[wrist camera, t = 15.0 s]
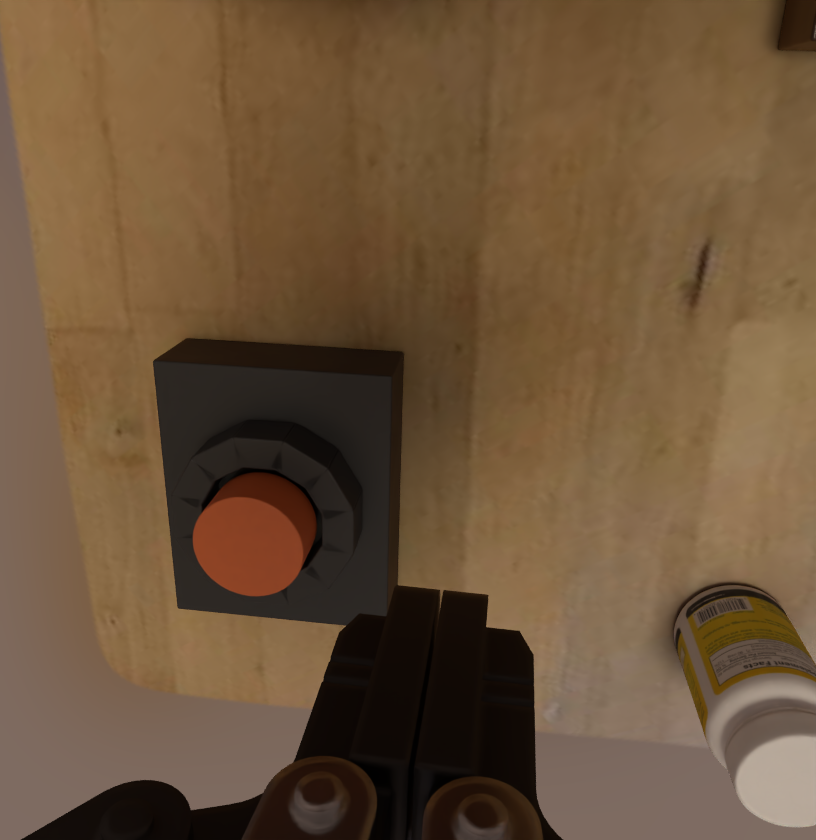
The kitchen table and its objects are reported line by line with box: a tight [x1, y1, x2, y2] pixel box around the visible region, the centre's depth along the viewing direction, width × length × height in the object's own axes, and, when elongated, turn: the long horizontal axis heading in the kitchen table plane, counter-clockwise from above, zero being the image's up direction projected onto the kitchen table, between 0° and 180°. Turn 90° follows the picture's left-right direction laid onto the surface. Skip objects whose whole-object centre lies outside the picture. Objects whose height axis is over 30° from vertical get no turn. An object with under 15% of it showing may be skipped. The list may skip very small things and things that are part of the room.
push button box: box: [153, 339, 404, 626], centre depth 30 cm, size 11×9×5 cm
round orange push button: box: [193, 472, 317, 596], centre depth 27 cm, size 4×4×2 cm
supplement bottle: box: [674, 585, 816, 827], centre depth 29 cm, size 5×5×8 cm
